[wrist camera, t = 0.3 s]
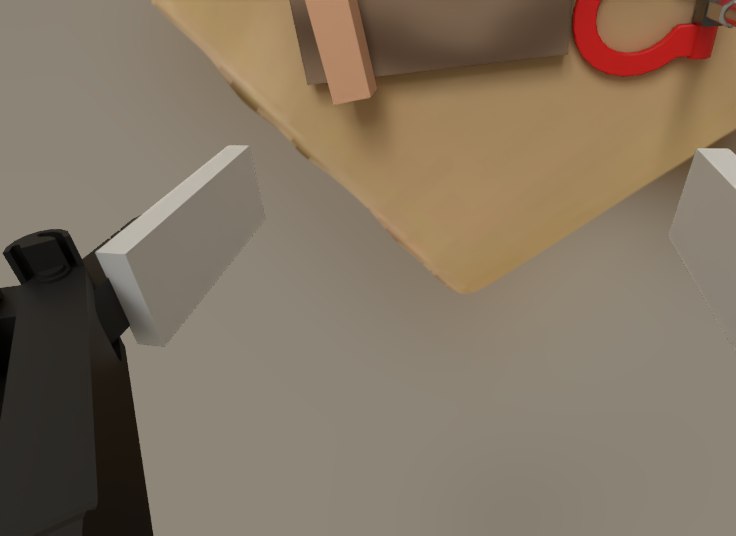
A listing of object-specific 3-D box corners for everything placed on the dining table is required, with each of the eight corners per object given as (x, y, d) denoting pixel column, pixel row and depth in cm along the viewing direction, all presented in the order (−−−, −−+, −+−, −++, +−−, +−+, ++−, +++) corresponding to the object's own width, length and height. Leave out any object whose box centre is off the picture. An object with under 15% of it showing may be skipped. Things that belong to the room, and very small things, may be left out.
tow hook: (565, 76, 37) (704, 68, 34) (582, 130, 26) (782, 124, 24) (579, -55, 32) (740, -75, 30) (606, -50, 22) (856, -81, 19)
